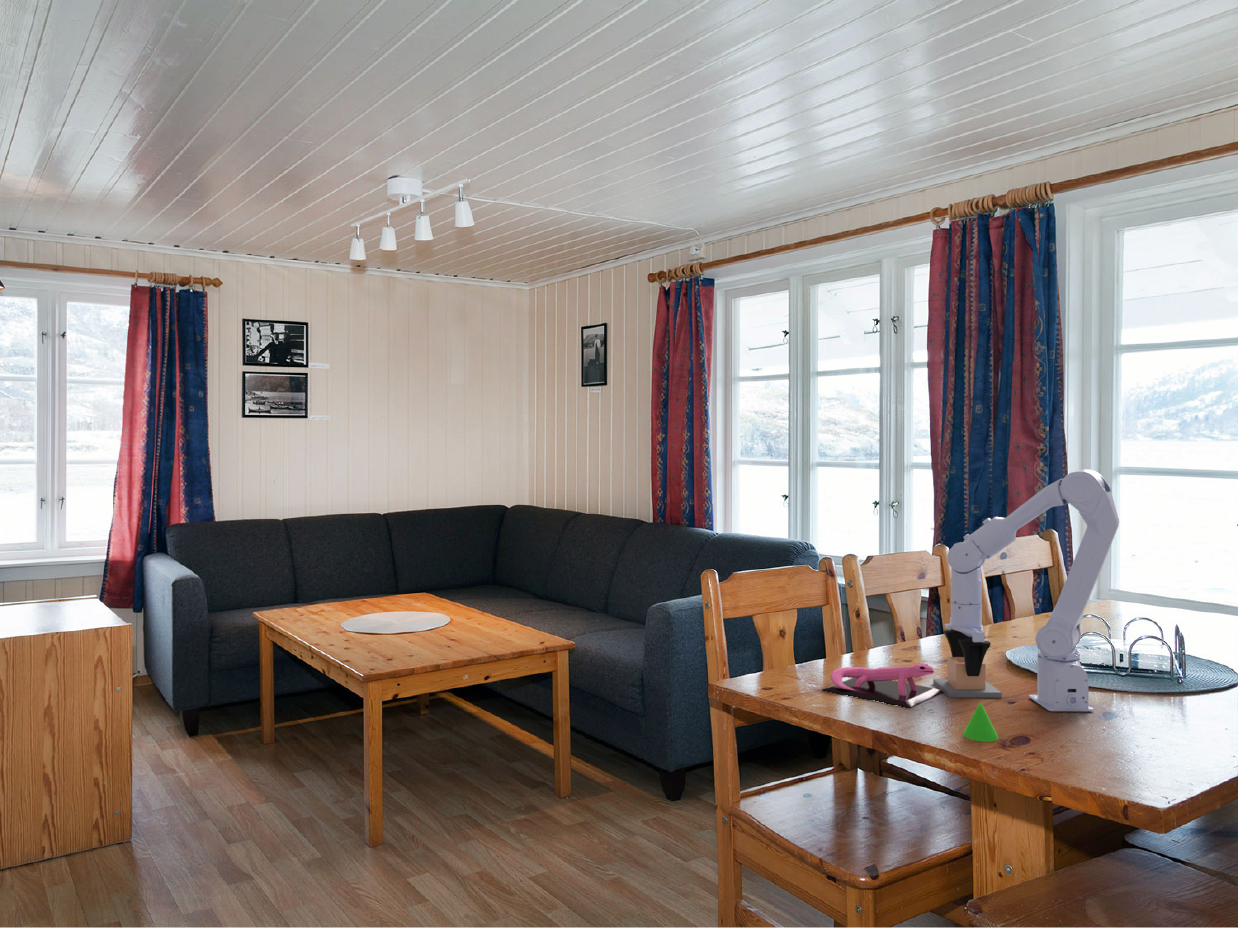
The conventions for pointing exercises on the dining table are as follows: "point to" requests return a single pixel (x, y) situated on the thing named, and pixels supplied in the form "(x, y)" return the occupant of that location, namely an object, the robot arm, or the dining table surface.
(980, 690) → the post plate
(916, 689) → the lizard figurine
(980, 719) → the green cone
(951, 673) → the collar
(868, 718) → the dining table surface
